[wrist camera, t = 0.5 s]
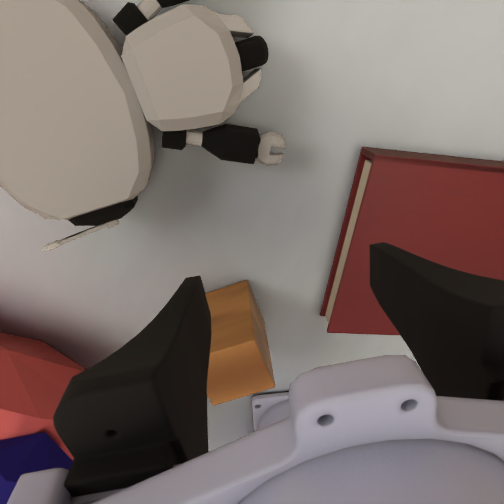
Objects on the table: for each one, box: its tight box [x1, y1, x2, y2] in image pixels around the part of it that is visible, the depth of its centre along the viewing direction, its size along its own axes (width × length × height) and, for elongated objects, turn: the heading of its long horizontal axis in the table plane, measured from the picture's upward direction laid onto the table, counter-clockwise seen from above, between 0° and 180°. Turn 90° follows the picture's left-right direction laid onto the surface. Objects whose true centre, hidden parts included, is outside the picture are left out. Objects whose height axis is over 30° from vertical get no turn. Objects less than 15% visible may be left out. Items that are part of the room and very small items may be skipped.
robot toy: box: [0, 0, 285, 250], centre depth 18 cm, size 12×4×15 cm
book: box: [320, 147, 504, 335], centre depth 25 cm, size 18×13×2 cm
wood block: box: [205, 280, 275, 405], centre depth 24 cm, size 4×4×6 cm
